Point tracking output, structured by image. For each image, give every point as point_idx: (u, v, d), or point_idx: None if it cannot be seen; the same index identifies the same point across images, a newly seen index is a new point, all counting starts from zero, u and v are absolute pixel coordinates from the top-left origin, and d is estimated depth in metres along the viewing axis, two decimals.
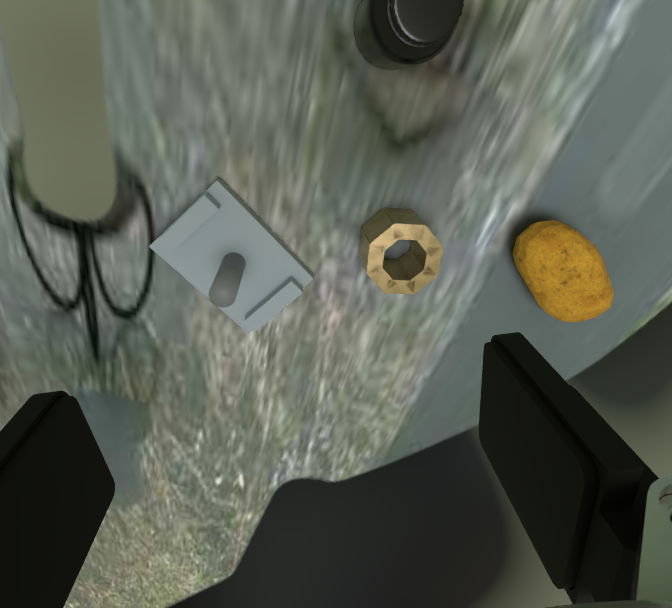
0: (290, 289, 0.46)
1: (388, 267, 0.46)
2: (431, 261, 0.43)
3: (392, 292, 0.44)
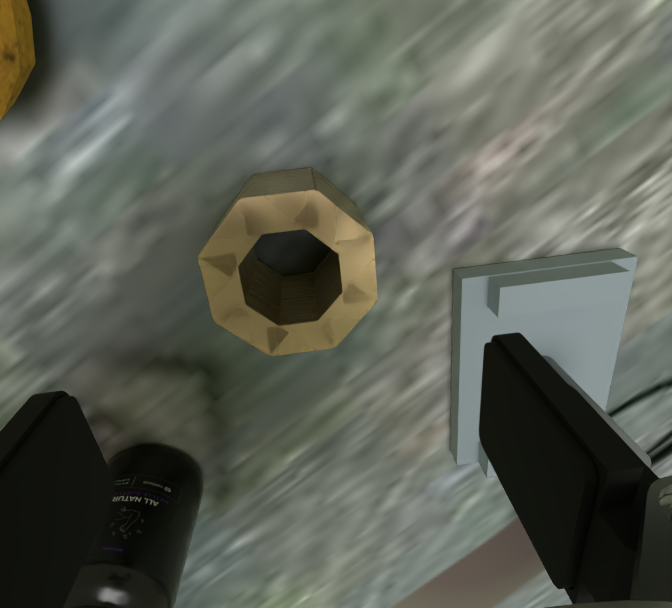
0: (512, 305, 0.23)
1: None
2: (236, 242, 0.17)
3: (357, 226, 0.18)
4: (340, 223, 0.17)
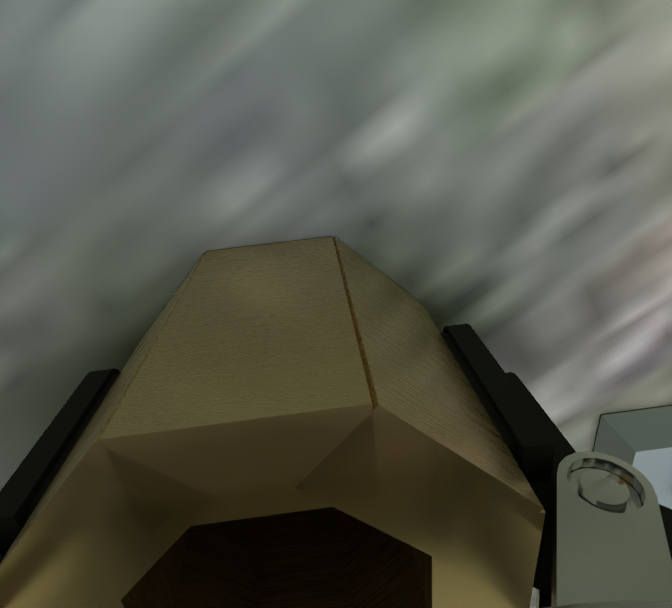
0: None
1: None
2: (108, 549, 0.05)
3: (500, 492, 0.05)
4: (448, 487, 0.05)
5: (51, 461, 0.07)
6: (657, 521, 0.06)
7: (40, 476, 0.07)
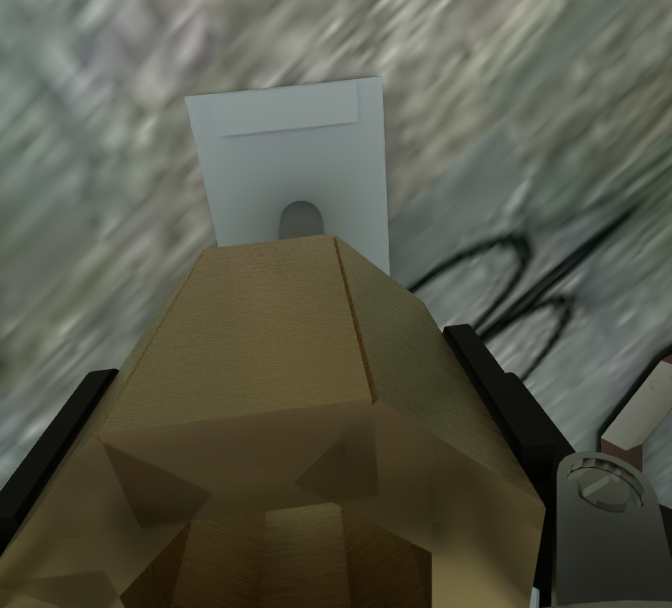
0: (229, 120, 0.21)
1: None
2: (106, 544, 0.05)
3: (500, 487, 0.05)
4: (447, 483, 0.05)
5: (51, 461, 0.07)
6: (657, 521, 0.06)
7: (39, 476, 0.07)
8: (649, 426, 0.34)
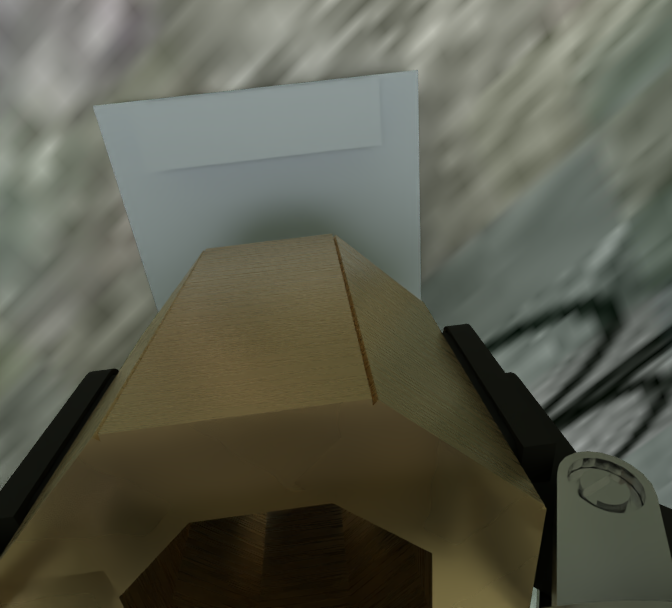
0: (164, 146, 0.12)
1: None
2: (106, 545, 0.05)
3: (501, 488, 0.05)
4: (448, 484, 0.05)
5: (51, 461, 0.07)
6: (657, 521, 0.06)
7: (39, 476, 0.07)
8: None
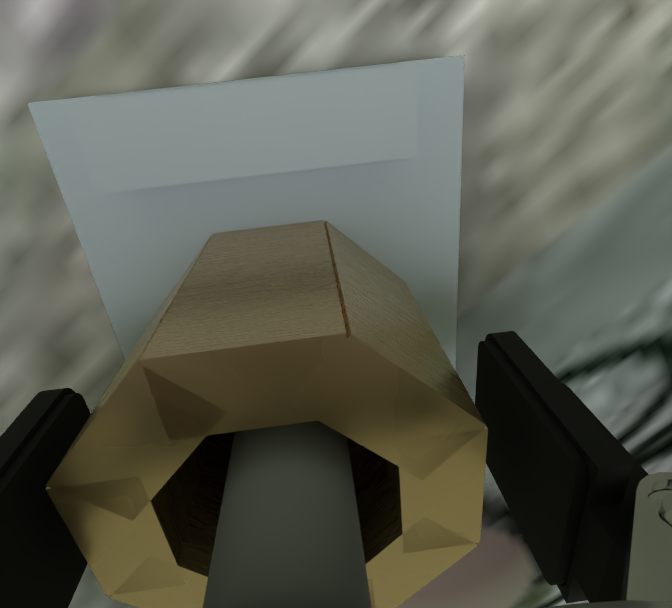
0: (120, 159, 0.09)
1: None
2: (142, 454, 0.07)
3: (450, 410, 0.07)
4: (408, 405, 0.07)
5: None
6: None
7: None
8: None
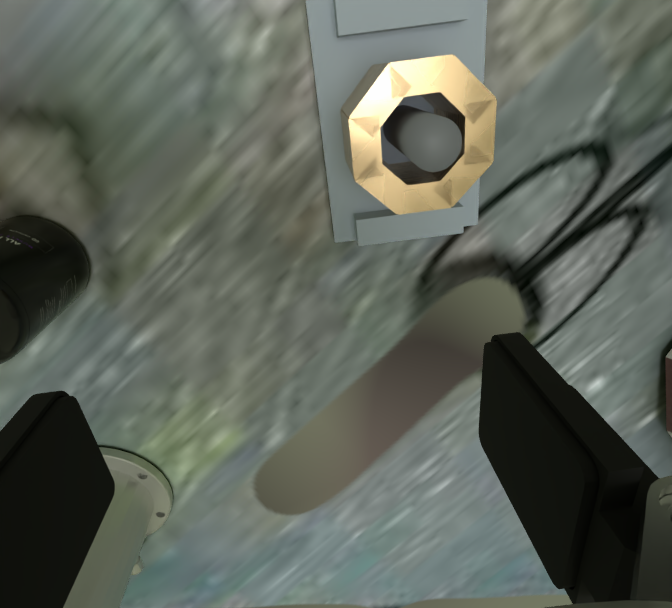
0: (351, 19, 0.23)
1: (443, 108, 0.24)
2: (382, 104, 0.21)
3: (484, 89, 0.21)
4: (470, 86, 0.21)
5: None
6: None
7: None
8: None
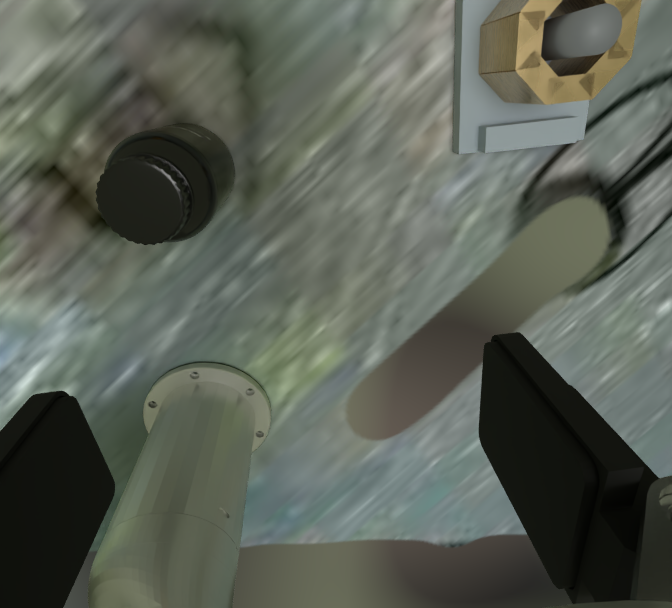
0: None
1: None
2: (549, 0, 0.25)
3: None
4: None
5: None
6: None
7: None
8: None
